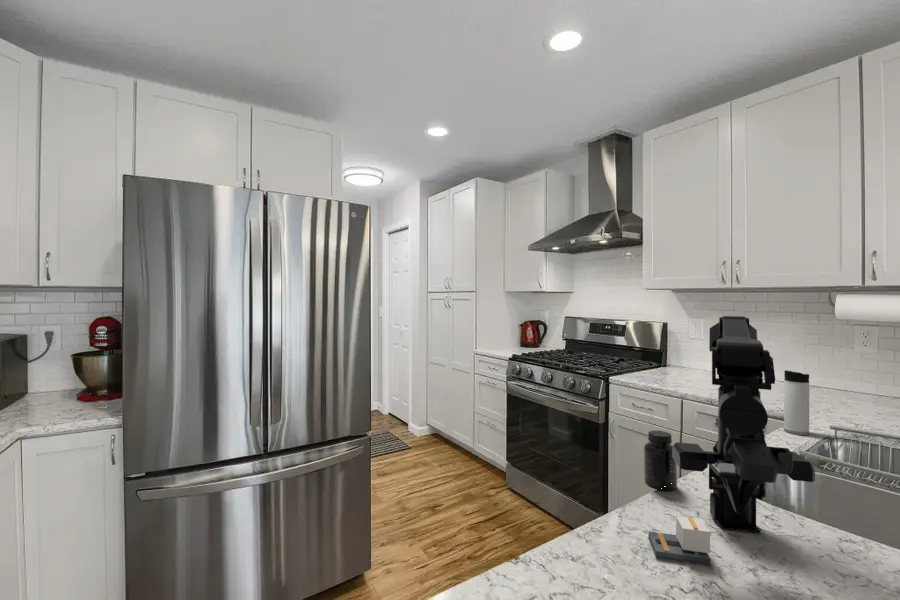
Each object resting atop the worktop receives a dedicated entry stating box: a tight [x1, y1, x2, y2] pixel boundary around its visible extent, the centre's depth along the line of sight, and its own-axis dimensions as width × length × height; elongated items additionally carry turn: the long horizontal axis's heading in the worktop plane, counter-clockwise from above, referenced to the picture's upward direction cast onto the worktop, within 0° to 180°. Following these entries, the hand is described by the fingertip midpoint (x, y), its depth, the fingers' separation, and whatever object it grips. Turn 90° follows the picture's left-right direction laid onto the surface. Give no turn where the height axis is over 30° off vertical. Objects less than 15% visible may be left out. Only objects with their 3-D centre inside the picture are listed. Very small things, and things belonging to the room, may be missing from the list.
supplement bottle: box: [643, 429, 678, 492], centre depth 96 cm, size 7×7×12 cm
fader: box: [675, 516, 711, 554], centre depth 70 cm, size 4×4×4 cm
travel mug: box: [783, 369, 810, 436], centre depth 135 cm, size 6×7×20 cm
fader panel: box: [648, 531, 711, 567], centre depth 71 cm, size 8×6×1 cm
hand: (738, 512), depth 69 cm, fingers closed
